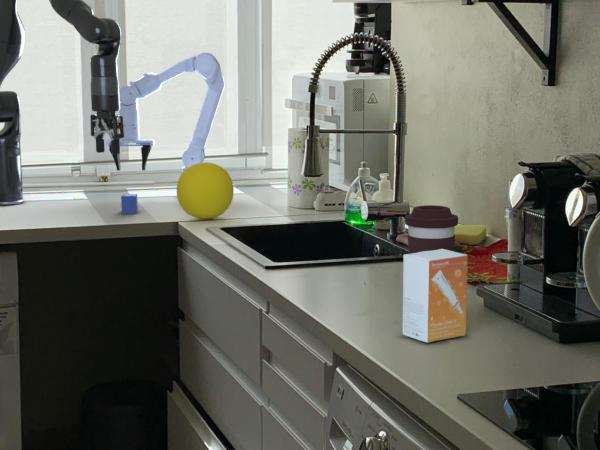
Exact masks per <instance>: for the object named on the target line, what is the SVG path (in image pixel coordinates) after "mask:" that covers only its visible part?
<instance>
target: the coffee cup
mask: <svg viewBox="0 0 600 450" xmlns="http://www.w3.org/2000/svg"><path fill="white" fill-rule="evenodd" d="M404 225H406V226H407V227H408V228H407V230H408V233H407V251H408V253H407V254H412V253H418V252H423V251H433V250H439V249H445V250H449V251H453V252H455V244H456V243H455V242H456V235H455V229H456V228H455V227H456V226H458V225H459V216H458V215H456V214H453V213H452V211H451V208H450V207H448V206H444V205H437V204H436V205H434V204H433V205H431V204H429V205H426V204H425V205H418V206H414V207H413V208H412V210H411V213H408V214H406V215H405V216H404Z"/></svg>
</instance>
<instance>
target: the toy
mask: <svg viewBox="0 0 600 450" xmlns="http://www.w3.org/2000/svg"><path fill="white" fill-rule="evenodd" d="M234 191H235V190H234V184H233V180H232V177H231V176H230V174H229V172H228V171H227V170H226V169H225V168H224V167H222V166H221V165H219V164H216V163H213V162H206V161H203V162H202V163H197V164H194V165H191V166H189V167H188V168H186V169H185V170H184V171H183V172H182V171H181V174H180V175H179V177H178V180H177V183H176V197H177V202H178V203H179V206H180V208H181V209H182V210H183V211H184V212H185V213H186V214H187V215H189V216H190V217H193V218H196V219H200V220H201V219H202V220H209V219H214V218H217V217H219V216H221V215H222V214H225V212H226V211H227V210H228V209H229V207H231V204H232V202H233V198H234Z"/></svg>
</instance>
